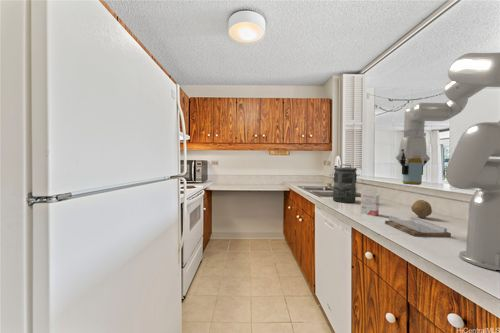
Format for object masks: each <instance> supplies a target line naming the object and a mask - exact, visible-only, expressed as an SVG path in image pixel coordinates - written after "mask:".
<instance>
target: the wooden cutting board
mask: <svg viewBox="0 0 500 333" xmlns="http://www.w3.org/2000/svg"><path fill="white" fill-rule="evenodd" d="M388 221H392V222H395V223H397V224H400V225H402V226H405V227H407V228H410V229H412V230H415V231H417V232H421V233H444V232H448V228H446V227H443V226H440V225H437V224H433V223H432V222H431V223H430V222H428V221H425V220H421V219H419V218H416V217H410V219H409V220H406V219H405V220H404V219H402V220H400V219H397V218H395V217H392V216H388Z"/></svg>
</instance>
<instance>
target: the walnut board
mask: <svg viewBox="0 0 500 333" xmlns="http://www.w3.org/2000/svg"><path fill="white" fill-rule="evenodd" d="M384 224H385V225H387V226H389V227H392V228H395V229H397V230H399V231H401V232H403V233H406V234H408V235H411V236H412V237H441V238H442V237H446V238H450V237H451V236H452V233H451V232H448V231H447V232H444V233H421V232H417V231H415V230H412V229H410V228H407V227H405V226H402V225H400V224H397V223H395V222H392V221H390V220H385V221H384Z"/></svg>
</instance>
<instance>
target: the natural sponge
mask: <svg viewBox="0 0 500 333" xmlns="http://www.w3.org/2000/svg"><path fill="white" fill-rule="evenodd" d="M410 208H411V211H412V212H413V213H414V214H415V215H417V217H418V218H421V219H425V218H427V217H428V216H431V214H432V213H433V209H432V206H431V204H430V203H429V202H428V201H427V200H424V199H418V200H416V201H415V202H413V204H412V206H411V207H410Z"/></svg>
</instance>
